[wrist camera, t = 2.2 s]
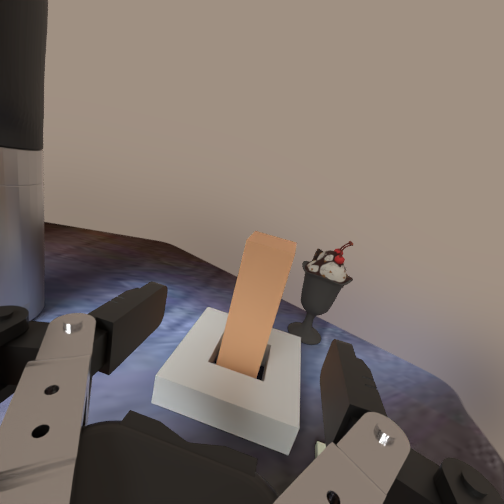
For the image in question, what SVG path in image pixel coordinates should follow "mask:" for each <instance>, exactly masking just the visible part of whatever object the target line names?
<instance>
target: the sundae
mask: <svg viewBox="0 0 504 504" xmlns="http://www.w3.org/2000/svg"><path fill="white" fill-rule="evenodd" d="M347 244H350V245H348V246H351V245H352V246H353V243H352V242H351V241H349V243H347ZM347 244H346V245H347ZM344 246H345V245H344ZM344 246H342V247H341V248H340V249H335V250H334V251H325V252H323V251H321V250H320V249H317V251H316V253H315V255H314V258H313V260H312V261H311V262H308V261H304V262H303V269H304V271H305V277H304V283H303V288H302V295H301V303H302V305H303V308H304V309H305V310H306V312H307V315H306V318H305V320H304V322H303V323H300V322H294V323H291V324H289V326H288V331H289V333H290V334H292V335H295V336H298V337H301V342H302V343H305V344H309V345H315V344H318V343H320V341H321V336H320V334H319V333H318V331H317V330H315V329H314V328H313V327H312V323H313V319H314V317H315V316H317V315H321V314H324V313H326V312H327V311H328V310H329V309H330V307H331V306H332V304H333V302H334V301H335V299H336V297H337V295H338V293H339V292H340V290H341V288H343V286H344V285H346V284H348V283H350V282H351V281H352V280H353V279H352V278H351V277H349V276H347V274H346V269H345V267H344V260H345V259H344V258H343V257H342V255H343V250H344V249H345V248H346V247H348V246H346V247H344ZM343 247H344V248H343ZM342 248H343V249H342ZM341 249H342V250H341Z"/></svg>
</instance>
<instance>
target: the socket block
mask: <svg viewBox="0 0 504 504" xmlns="http://www.w3.org/2000/svg"><path fill="white" fill-rule="evenodd" d="M227 318H228V313H225V312H222V311H219V310H216V309H213V308H210V307H207V309H206V310H205V311H204V313H203V314H202V315H201V317H200V318H199V319H198V320H197V322H196V323H195V324H194V326H193V327H192V328H191V330H190V331H189V332H188V334H187V335H186V336H185V338H184V339H183V340H182V341H181V343H180V344H179V345H178V347H177V348H176V349H175V351H174V352H173V353H172V355H171V356H170V357H169V358H168V360H167V361H166V362H165V364H164V365H163V366H162V368H161V369H160V370H159V372H158V373H157V374H156V376H155V383H154V389H153V395H152V402H151V403H153V404H156V405H158V406H161V407H163V408H166V409H169V410H171V411H174V412H176V413H179V414H182V415H184V416H187V417H189V418H192V419H195V420H197V421H200V422H203V423H205V424H208V425H210V426H213V427H216V428H218V429H221V430H223V431H226V432H229V433H231V434H234V435H236V436H239V437H242V438H244V439H247V440H249V441H252V442H255V443H257V444H260V445H262V446H265V447H268V448H270V449H273V450H275V451H278V452H281V453H283V454H286V455H289V453H290V450H291V448H292V445H293V443H294V440H295V438H296V436H297V433H298V431H299V422H300V364H301V337H298V336H295V335H292V334H289V333H286V332H283V331H280V330H277V329H274V328H272V330H271V333H270V336H269V340H268V343H267V346H266V349H265V352H264V356H263V359H262V362H261V366H264V371H263V376H262V381H261V380H258V379H255V378H253V377H250V376H247V375H244V374H241V373H238V372H236V371H233V370H230V369H227V368H224V367H221V366H219V365H216V364H214V362H215V360H216V358H217V355H218V353H219V351H220V347H221V343H222V338H223V334H224V330H225V326H226V322H227Z"/></svg>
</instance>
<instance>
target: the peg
mask: <svg viewBox="0 0 504 504" xmlns="http://www.w3.org/2000/svg"><path fill="white" fill-rule="evenodd" d="M295 251H296V242H293V241H289V240H286V239H282V238H278V237H275V236H271V235H268V234H264V233H261V232H257V231H255V232H254V233H253V234H252V235H251V236H250V237H249V238H248V239H247V240H246V245H245V249H244V253H243V257H242V261H241V265H240V269H239V273H238V277H237V281H236V285H235V289H234V294H233V298H232V302H231V306H230V310H229V314H228V318H227V322H226V326H225V330H224V334H223V338H222V343H221V347H220V351H219V355H218V359H217V363H216V365H219V366H221V367H224V368H227V369H230V370H233V371H236V372H238V373H241V374H244V375H247V376H250V377H253V378H255V379H256V378H257V375H258V372H259V368H260V365H261V362H262V359H263V356H264V352H265V349H266V346H267V343H268V340H269V336H270V333H271V330H272V327H273V323H274V320H275V317H276V314H277V311H278V307H279V304H280V301H281V298H282V295H283V291H284V288H285V285H286V282H287V279H288V275H289V272H290V269H291V266H292V262H293V259H294V256H295Z"/></svg>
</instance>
